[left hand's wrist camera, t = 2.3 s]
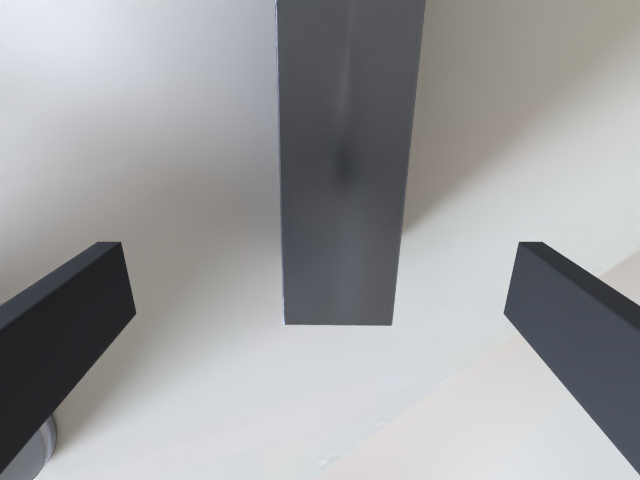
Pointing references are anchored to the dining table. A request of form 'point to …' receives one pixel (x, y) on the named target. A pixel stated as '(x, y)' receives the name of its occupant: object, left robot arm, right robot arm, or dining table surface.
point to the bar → (344, 153)
